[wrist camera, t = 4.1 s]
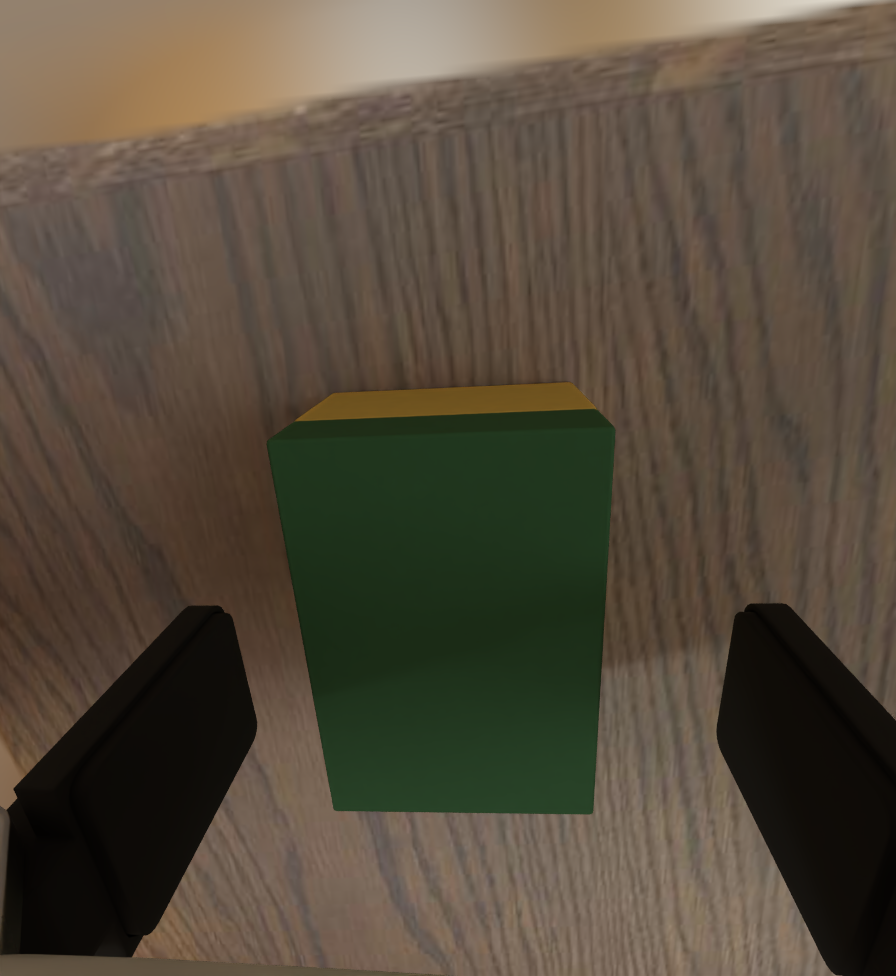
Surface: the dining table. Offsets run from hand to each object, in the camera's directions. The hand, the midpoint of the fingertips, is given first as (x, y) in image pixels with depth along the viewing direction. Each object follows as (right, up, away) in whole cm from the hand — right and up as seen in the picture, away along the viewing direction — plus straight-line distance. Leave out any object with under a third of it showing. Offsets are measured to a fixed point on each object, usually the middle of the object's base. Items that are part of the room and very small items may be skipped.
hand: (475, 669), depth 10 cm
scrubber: (0, +2, +5) cm, 5 cm away
